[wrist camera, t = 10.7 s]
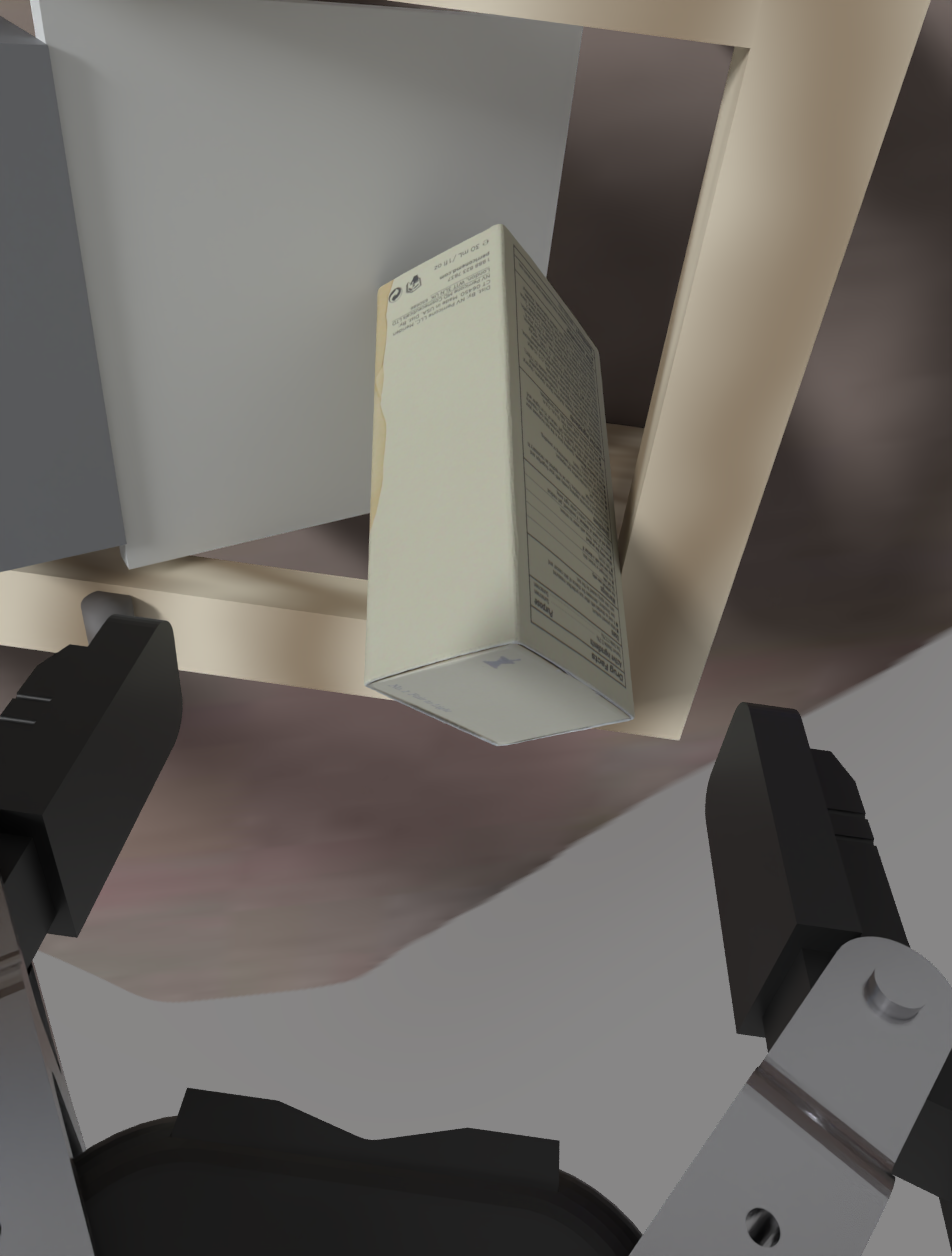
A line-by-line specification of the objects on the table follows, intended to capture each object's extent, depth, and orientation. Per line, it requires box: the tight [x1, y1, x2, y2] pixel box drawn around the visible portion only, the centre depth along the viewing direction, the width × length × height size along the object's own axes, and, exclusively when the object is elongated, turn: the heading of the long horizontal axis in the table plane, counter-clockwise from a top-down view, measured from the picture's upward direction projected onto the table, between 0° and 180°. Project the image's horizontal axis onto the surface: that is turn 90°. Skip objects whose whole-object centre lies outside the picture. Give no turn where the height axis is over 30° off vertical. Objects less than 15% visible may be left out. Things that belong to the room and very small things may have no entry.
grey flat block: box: [0, 0, 583, 572], centre depth 26 cm, size 19×14×5 cm
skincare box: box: [364, 224, 635, 746], centre depth 24 cm, size 6×4×12 cm
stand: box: [0, 0, 931, 740], centre depth 28 cm, size 22×21×17 cm
